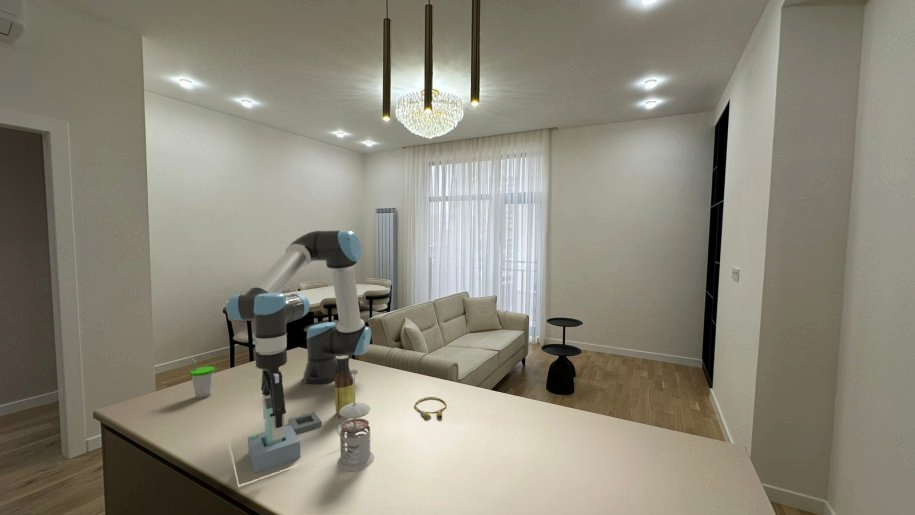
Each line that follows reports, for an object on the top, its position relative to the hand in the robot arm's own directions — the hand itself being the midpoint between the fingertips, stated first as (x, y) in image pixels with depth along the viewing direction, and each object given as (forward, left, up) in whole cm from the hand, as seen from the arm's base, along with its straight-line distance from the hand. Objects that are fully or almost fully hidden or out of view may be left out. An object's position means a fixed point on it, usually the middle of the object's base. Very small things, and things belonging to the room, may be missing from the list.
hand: (273, 427), depth 98 cm
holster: (-11, -12, -8) cm, 18 cm away
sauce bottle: (-24, -12, -8) cm, 28 cm away
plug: (0, 0, -8) cm, 8 cm away
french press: (-17, +14, -8) cm, 24 cm away
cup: (+14, -59, -8) cm, 61 cm away
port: (0, 0, -8) cm, 8 cm away
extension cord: (-49, +2, -9) cm, 50 cm away
